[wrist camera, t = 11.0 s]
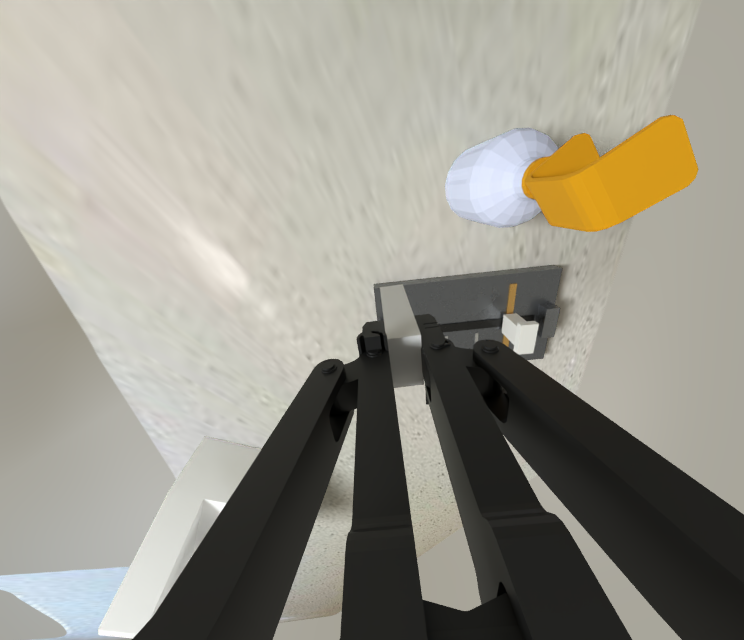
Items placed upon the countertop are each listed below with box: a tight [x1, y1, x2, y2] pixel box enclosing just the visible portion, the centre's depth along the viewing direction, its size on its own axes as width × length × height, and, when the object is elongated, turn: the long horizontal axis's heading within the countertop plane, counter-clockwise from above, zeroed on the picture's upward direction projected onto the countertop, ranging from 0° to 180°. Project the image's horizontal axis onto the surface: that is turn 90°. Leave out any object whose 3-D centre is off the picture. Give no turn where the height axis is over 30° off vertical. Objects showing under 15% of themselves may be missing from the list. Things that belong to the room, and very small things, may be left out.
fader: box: [502, 313, 539, 355], centre depth 40 cm, size 5×2×5 cm, turn 6°
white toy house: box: [98, 436, 261, 638], centre depth 49 cm, size 19×15×25 cm
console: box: [374, 265, 562, 360], centre depth 43 cm, size 16×28×4 cm, turn 96°
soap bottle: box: [445, 115, 698, 232], centre depth 25 cm, size 9×9×25 cm
